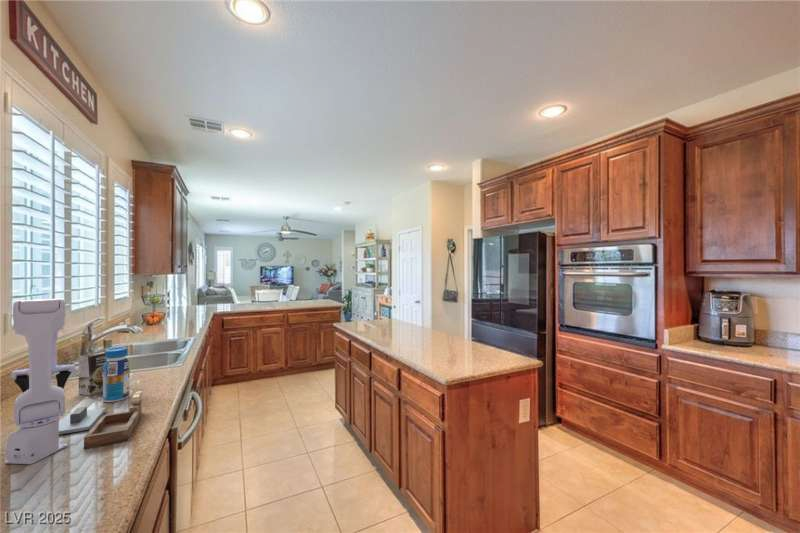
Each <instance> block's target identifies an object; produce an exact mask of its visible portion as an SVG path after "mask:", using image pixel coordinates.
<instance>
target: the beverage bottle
mask: <svg viewBox="0 0 800 533" xmlns="http://www.w3.org/2000/svg"><path fill="white" fill-rule="evenodd" d="M105 351H106V352H105V357H106V359H108V360H107V361H106V362H105V364H104V366H103V369H104V372H103V375H102V376H103V391H102V401H103V402H104V403H113V402H114V403H115V401H116V402H121V401H123V400H127V398H129V397H130V393H131V392H130V386H131V385H130V384H131V383H130V382H131V381H130V379H131V378H130V376H131V374H130V372H131V369H130V364H131V362H130V361H129V359H128V358H127V356H128V347H126V346H119V347H112V348H111V347H110V348H108V349H105Z"/></svg>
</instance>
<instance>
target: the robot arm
mask: <svg viewBox="0 0 800 533" xmlns="http://www.w3.org/2000/svg"><path fill="white" fill-rule="evenodd" d="M12 321H13V330H14V333H15V334H16V335H19V336H23V337H24V338H25V341H26V342H27V348H28V368H24V369H15V370H13V371H11V372H10V373H11V379H14V378H15V379H14V383H15V384H16V385H17V386H18V387H19V389H20V390H21V392H22V393H20V394H19V395H18V396H17V397H16V399H15V401H14V406H13V407H14V408H13V424H14V425H15V426H17V427H19V426H20V427H19V429H17V430H16V431H14V432H12V433H11V434H10V435H9V436H8V438H7V442H6V443H7V449H6V450H7V451H6V452H7V454H6V455H7V457H6V460H5V461H4V463H5V464H20V465H32V464H34V463H36V462H38V461H40V460H42V459H44V458H46V457H48V456H50V455H53V454H54V453H56V452H58V451H60V450H62V449H64V448H66V447H68V445H69V444H68V443H60V442H59V441H60V434H59V422H60V417H63V416H64V415H65V414H66V395H65V386H66V383H67V381H68V379H69V378H70V376H71V374H72V372H74V371H75V370H76V364H58V341H57V340H58V335H59V332H60V331H62V330H63V329H64V326H65V321H66V299H64V298H63V297H60V298H51V299H50V298H48V299H47V298H45V299H27V300H26V299H25V300H23V299H22V300H20V299H18V300H17V299H16V300H15V301H14V302H13V304H12ZM55 373H57V374H55ZM52 374H55V379H56V385H55V384H52Z"/></svg>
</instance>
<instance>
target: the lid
mask: <svg viewBox="0 0 800 533" xmlns="http://www.w3.org/2000/svg"><path fill="white" fill-rule="evenodd" d="M106 411H107V407H100V408H94V409H88V406H81V407H77V408H76V409H75V410H74V411H73V412H69V413H68V414H66V416H64V417H63V418H61V420H59V435H63V434H70V433H76V432H81V431H88V430H89V431H90V430H91V428H92V427H93V426H94V425H95V424H96V422H97V421H98V420H99V419H100V418H101V417H102V415H104V413H105V412H106Z"/></svg>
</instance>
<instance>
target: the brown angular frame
mask: <svg viewBox="0 0 800 533" xmlns="http://www.w3.org/2000/svg"><path fill="white" fill-rule="evenodd" d="M142 403H143V400H142V399H141V400H140V402H139V403H138V404H132V403H131V405H130V407H129V411H122V412H117V413H116V412H115V413H110V414H102V415H101V416H100V418H99V419H98V420H97V421H96V422H95V423H94V424H93V426H92V427H91V428H90V429H89V431H88V432H87V433H86V434H85V436H84V437H83V450H87V449H92V448H98V447H99V448H100V447H104V446H109V445H114V444H118V443H125V442H128V441H129V439H130V437H131V435H132V434H133V433H134V431H135V429H136V428H137V425H138V424H139V422H140V421H141V415H142V412H143V411H142V410H143V409H142V408H143V404H142Z"/></svg>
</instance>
